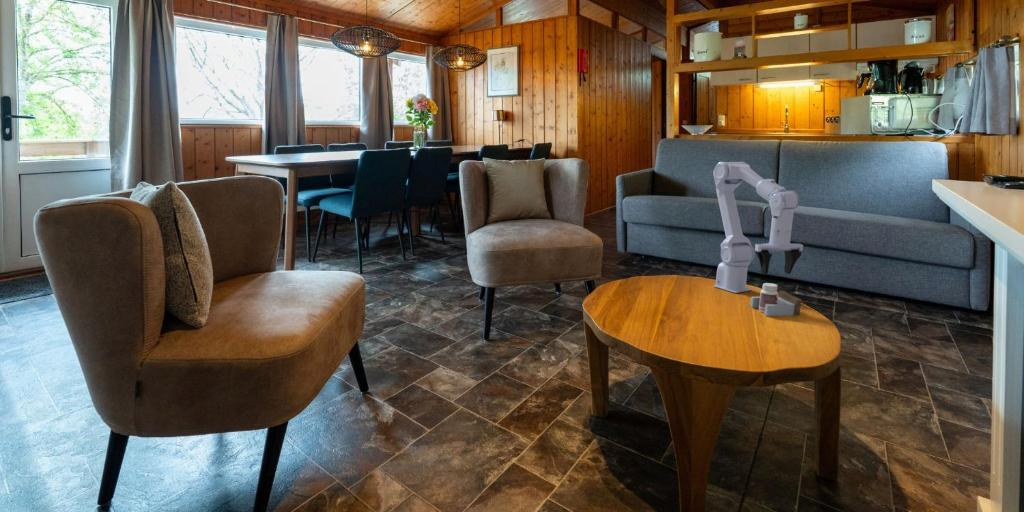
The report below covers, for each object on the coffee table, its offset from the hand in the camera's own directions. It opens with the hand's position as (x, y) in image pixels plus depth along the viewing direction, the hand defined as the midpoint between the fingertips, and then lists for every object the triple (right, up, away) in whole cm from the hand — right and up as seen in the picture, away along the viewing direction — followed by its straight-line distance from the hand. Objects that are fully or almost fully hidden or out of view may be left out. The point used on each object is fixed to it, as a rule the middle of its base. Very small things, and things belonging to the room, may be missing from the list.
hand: (775, 273), depth 167 cm
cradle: (-4, -11, -5) cm, 13 cm away
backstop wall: (+1, -11, -5) cm, 12 cm away
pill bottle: (-5, -12, -5) cm, 14 cm away
